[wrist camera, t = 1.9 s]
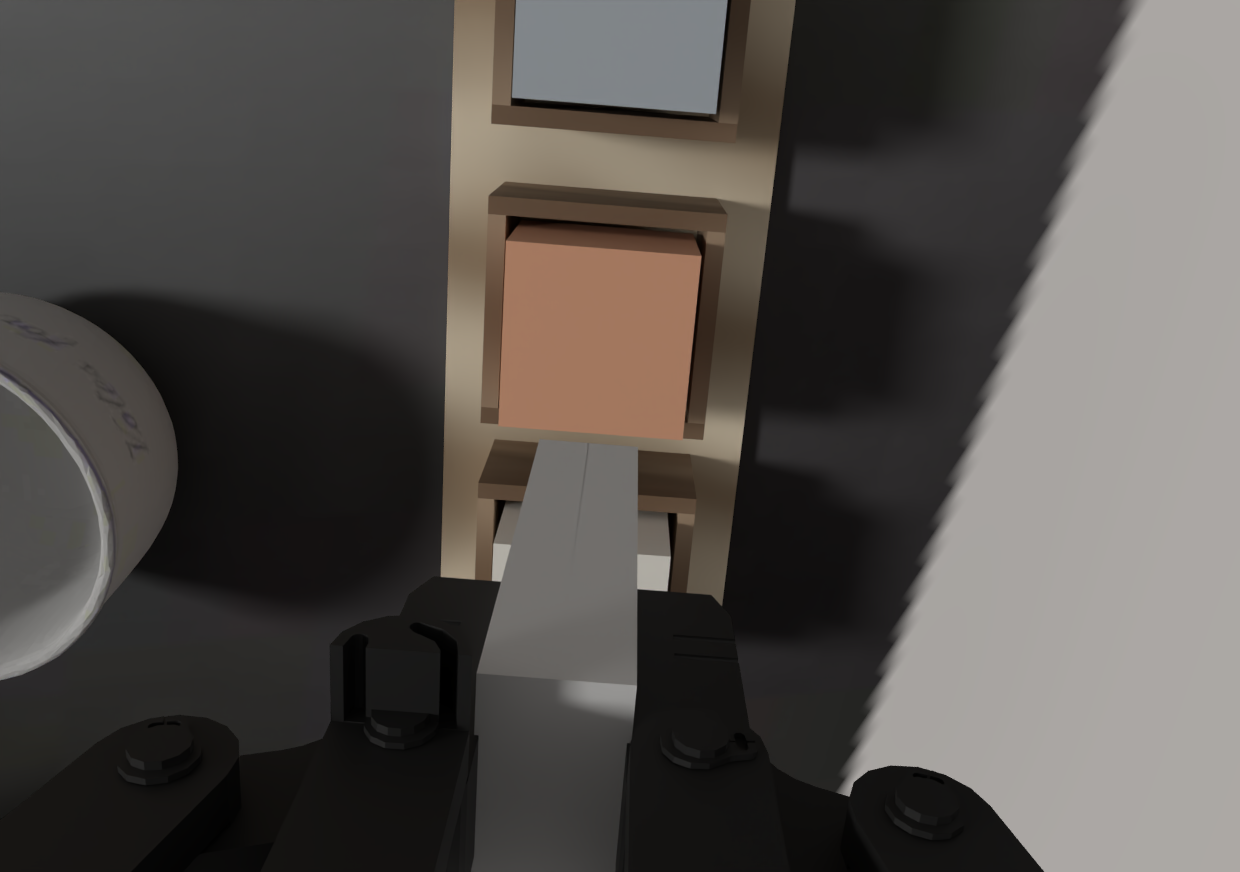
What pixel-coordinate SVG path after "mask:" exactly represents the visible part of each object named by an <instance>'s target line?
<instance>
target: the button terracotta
mask: <svg viewBox="0 0 1240 872" xmlns="http://www.w3.org/2000/svg"><path fill="white" fill-rule="evenodd" d="M700 265H701V254H700V251H699V248H698V246H697V243H696V240H695V238H694V235H693V234H691V233H678V232H666V231H653V230H640V229H628V228H615V227H603V226H590V225H577V224H565V223H552V222H540V221H527V220H521V222H520V223H519V224H518V226H517V227H516V228H515V230H514V231H513V232H512V234H511V235H510V236H509V237H508V239H507V240H506V254H505V278H504V302H503V326H502V350H501V374H500V398H499V422H498V426H502V427H515V428H528V429H541V430H554V431H567V432H580V433H593V434H606V435H619V436H632V437H645V438H658V439H672V440H683V432H684V422H685V412H686V402H687V392H688V383H689V373H690V363H691V353H692V343H693V334H694V324H695V314H696V304H697V294H698V285H699V275H700Z"/></svg>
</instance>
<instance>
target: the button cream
mask: <svg viewBox="0 0 1240 872" xmlns="http://www.w3.org/2000/svg"><path fill="white" fill-rule="evenodd" d="M521 506H522V501H509V500H506V503H505V506H504V510H503V513H502V516H501V520H500V523H499V526H498V530H497V533H496V537H495V540H494V543H493V566H492V581H500V582H501V580H502V577H503V573H504V569H505V566H506V562H507V558H508V554H509V551H510V547H511V543H512V540H513V536H514V532H515V528H516V525H517V521H518V517H519V514H520V510H521ZM670 559H671V554H670V541H669V528H668V516H667V512H655V511H641V510H638V543H637V589H642V590H655V591H667V588H668V579H669V569H670Z"/></svg>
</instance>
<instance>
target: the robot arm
mask: <svg viewBox="0 0 1240 872" xmlns="http://www.w3.org/2000/svg"><path fill="white" fill-rule="evenodd" d="M637 543H638V447H633V446H620V445H607V444H594V443H582V442H569V441H556V440H543V439H539V443H538V447H537V451H536V454H535V458H534V462H533V465H532V469H531V473H530V476H529V480H528V484H527V488H526V491H525V495H524V499H523V502H522V506H521V510H520V514H519V517H518V521H517V525H516V528H515V532H514V536H513V540H512V543H511V547H510V551H509V554H508V558H507V562H506V566H505V569H504V573H503V577H502V580H501V582H500V581H487V580H474V579H461V578H448V577H435V576H434V577H432V578H431V579H430V580H428V581H427V582H425V583H424V584H423V585H421V586H420V587H418V588H417V589H416V590H414V591H413V592H412V593H410V594H409V596H408V598H407V600H406V602H405V605H404V607H403V609H402V612H401V614H400V616H386V617H382V618H377V619H373V620H368V621H363V622H361V623H359V624H357V625H355V626H353V627H351V628H349V629H347V630H345V631H343V632H342V633H341V634H340V635H339V636H338V637H337V638H336V639H335V640H334V641H333V642H332V643H331V644H330V695H331V722H330V724H329V726H328V728H327V730H326V733H325V735H324V737H323V739H320V740H318V741H315V742H312V743H309V744H306V745H304V746H300V747H295V748H290V749H285V750H279V751H272V752H264V753H257V754H249V755H241V756H239V740H238V739H237V738H236V736H235V735H234V734H233V733H232V732H231V730H230V729H229V728H228V727H227V726H225V725H223V724H220V723H218V722H216V721H213V720H211V719H208V718H204V717H194V716H184V715H176V716H168V717H164V716H163V717H158V718H151V719H147V720H144V721H141V722H138V723H135V724H132V725H129V726H126V727H123V728H120V729H119V730H117V731H115V732H114V733H112V734H110V735H109V736H107V737H105V738H104V739H102V740H100V741H99V742H97V743H96V744H95V745H93V746H92V747H91V748H90V749H88V750H87V751H86V752H85V753H83V754H82V755H81V756H80V757H78V758H77V759H76V760H75V761H73V762H72V763H71V764H70V765H69V766H67V767H66V768H65V769H64V770H62V771H61V772H60V773H59V774H57V775H56V776H55V777H54V778H52V779H51V780H50V781H49V782H47V783H46V784H45V785H44V786H42V787H41V788H40V789H39V790H37V791H36V792H35V793H34V794H32V795H31V796H30V797H29V798H27V799H26V800H25V801H24V802H22V803H21V804H20V805H19V806H18V807H16V808H15V809H14V810H13V811H11V812H10V813H9V814H8V815H6V816H5V817H4V818H3V819H1V820H0V872H1044V871H1043V870H1042V869H1041V867H1040V866H1039V865H1038V864H1037V863H1036V861H1035V860H1034V859H1033V858H1032V857H1031V855H1030V854H1029V853H1028V852H1027V850H1026V849H1025V848H1024V847H1023V846H1022V844H1021V843H1020V842H1019V840H1018V839H1017V838H1016V837H1015V836H1014V834H1013V833H1012V832H1011V831H1010V829H1009V828H1008V827H1007V826H1006V825H1005V824H1004V822H1003V821H1002V820H1001V819H1000V817H999V816H998V815H997V814H996V812H995V811H994V810H993V809H992V807H991V806H990V805H989V804H988V803H986V802H985V801H984V800H983V799H982V798H981V797H980V796H979V795H978V794H976V793H975V792H974V791H973V790H972V789H971V788H969V787H967V786H965V785H963V784H962V783H960V782H958V781H956V780H954V779H952V778H950V777H948V776H946V775H944V774H940V773H937V772H934V771H930V770H927V769H923V768H919V767H907V766H887V767H883V768H879V769H875V770H870V771H868V772H867V773H865V774H864V775H863V776H861V777H860V778H859V779H858V780H856V781H855V782H854V783H853V787H852V791H851V794H850V797H848V796H845V795H842V794H838V793H835V792H831V791H828V790H825V789H821V788H818V787H815V786H812V785H810V784H807V783H804V782H802V781H799V780H796V779H794V778H793V777H791V776H789V775H787V774H786V773H784V772H782V771H780V770H778V769H777V768H776V767H775V766H774V765H772V764H771V763H770V760H769V754H768V752H767V750H766V748H765V746H764V743H763V741H762V739H761V737H760V736H759V735H757V734H756V733H755V732H754V731H753V730H751V729H750V727H749V721H748V715H747V709H746V703H745V697H744V691H743V685H742V679H741V673H740V667H739V663H738V655H737V650H736V644H735V638H734V632H733V626H732V620H731V616H730V615H729V613H728V612H727V611H726V610H725V609H724V608H723V607H722V606H721V605H720V604H719V603H718V602H717V600H716V599H715V598H714V597H713V596H712V595H707V594H694V593H681V592H668V591H655V590H642V589H637Z"/></svg>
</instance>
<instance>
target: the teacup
mask: <svg viewBox="0 0 1240 872" xmlns="http://www.w3.org/2000/svg"><path fill="white" fill-rule="evenodd" d="M177 475H178V453H177V444H176V437H175V432H174V428H173V424H172V421H171V419H170V416H169V413H168V411H167V408H166V406H165V404H164V402H163V399H162V397H161V395H160V393H159V391H158V390H157V388H156V386H155V384H154V383H153V381H152V380H151V378H150V377H149V376H148V374H147V373H146V371H145V370H144V369H143V368H142V366H141V365H140V364H139V363H138V362H137V361H136V359H135V358H134V357H133V356H132V355H131V354H130V353H129V352H128V351H127V350H126V349H125V348H124V347H123V346H122V345H121V344H120V343H118V342H117V341H116V340H115V339H114V338H112V337H111V336H110V335H109V334H107V333H106V332H105V331H103V330H102V329H100V328H99V327H98V326H96V325H95V324H93V323H91V322H90V321H88V320H86V319H85V318H83V317H81V316H79V315H77V314H75V313H73V312H71V311H68V310H66V309H64V308H62V307H60V306H57V305H54V304H51V303H48V302H45V301H42V300H40V299H37V298H32V297H28V296H23V295H19V294H10V293H2V292H0V680H4V679H8V678H11V677H15V676H19V675H22V674H24V673H27V672H29V671H32V670H34V669H36V668H39V667H41V666H43V665H45V664H47V663H48V662H50V661H52V660H54V659H56V658H57V657H59V656H60V655H61V654H62V653H64V652H65V651H66V650H67V649H68V648H70V647H71V646H72V645H73V644H74V643H75V642H76V641H77V640H78V639H79V638H80V637H81V636H82V635H83V634H84V633H85V632H86V631H87V629H88V628H89V626H90V625H91V624H92V622H93V621H94V619H95V618H96V616H97V615H98V613H99V612H100V610H101V608H102V606H103V604H104V603H105V602H106V601H107V600H108V598H109V597H110V596H111V595H112V594H113V593H114V592H115V590H116V589H117V588H118V587H119V586H120V584H121V583H122V582H123V581H124V580H125V578H126V577H127V576H128V575H129V574H130V572H131V571H132V570H133V569H134V568H135V566H136V565H137V564H138V563H139V561H140V560H141V559H142V557H143V556H144V555H145V553H146V552H147V551H148V550H149V548H150V546H151V545H152V543H153V542H154V540H155V539H156V537H157V535H158V533H159V532H160V530H161V528H162V526H163V524H164V522H165V520H166V518H167V516H168V513H169V511H170V508H171V505H172V502H173V498H174V494H175V490H176V483H177Z"/></svg>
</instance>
